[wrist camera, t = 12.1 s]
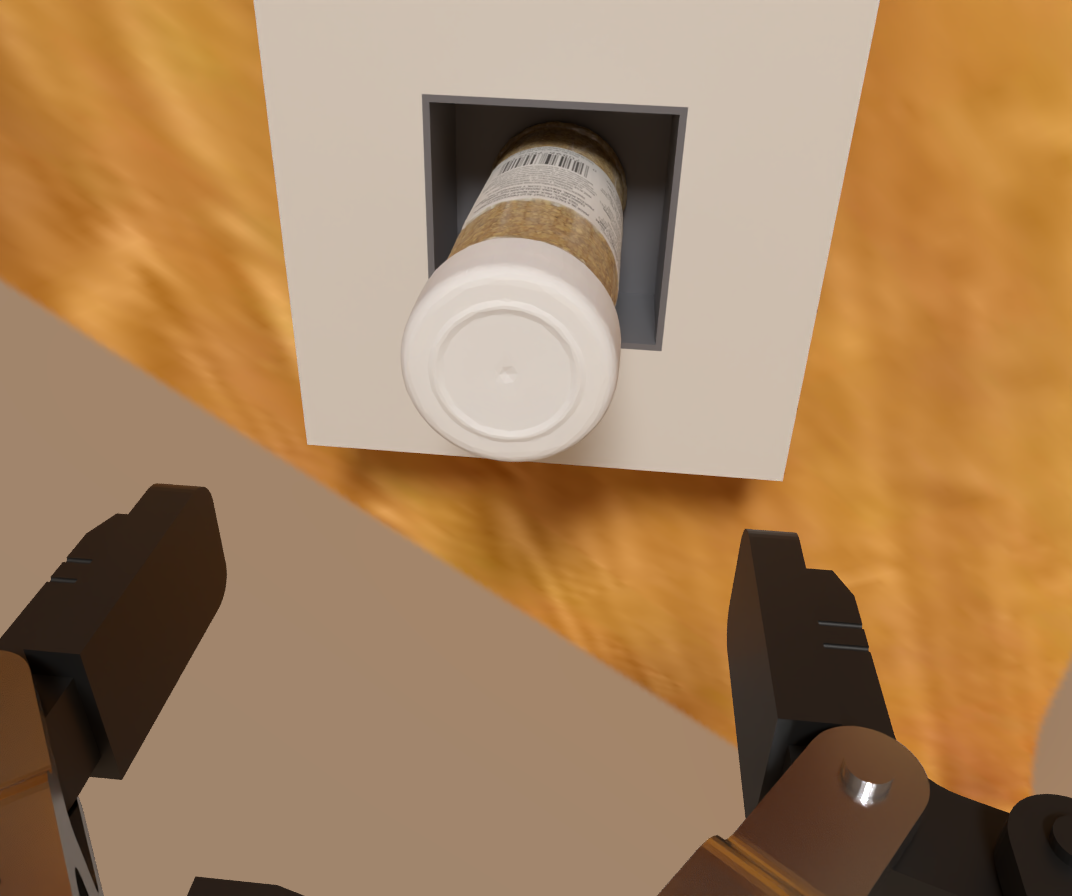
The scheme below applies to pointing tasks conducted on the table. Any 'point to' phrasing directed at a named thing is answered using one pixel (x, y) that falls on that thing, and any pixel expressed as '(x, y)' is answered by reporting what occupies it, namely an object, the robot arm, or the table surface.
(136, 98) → the table surface
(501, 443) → the sprinkles bottle
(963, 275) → the table surface
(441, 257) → the socket block
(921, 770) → the robot arm
